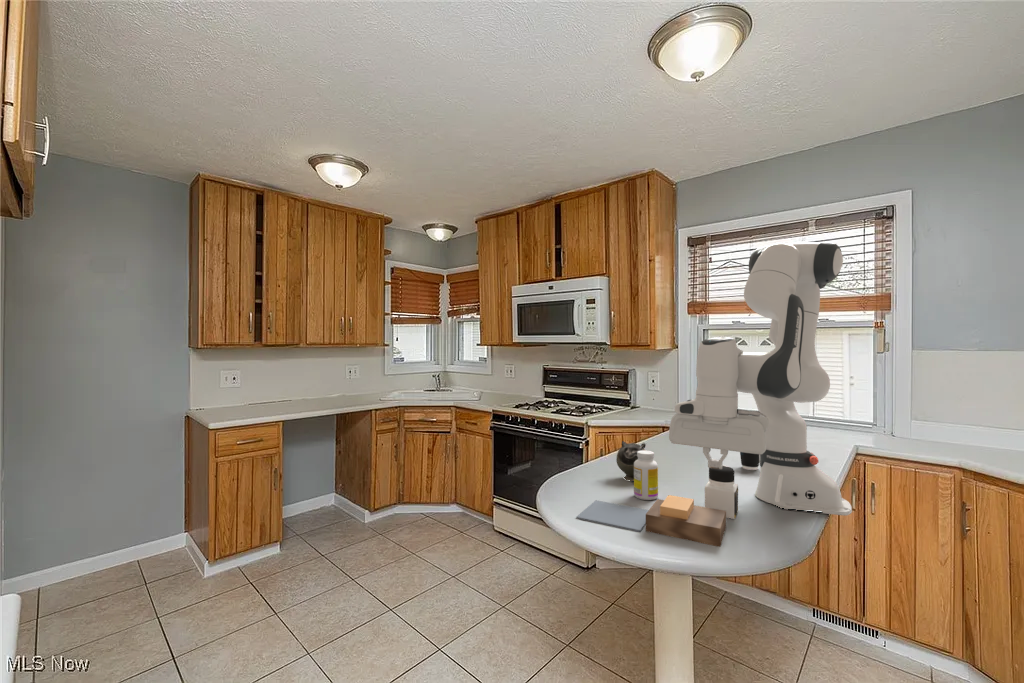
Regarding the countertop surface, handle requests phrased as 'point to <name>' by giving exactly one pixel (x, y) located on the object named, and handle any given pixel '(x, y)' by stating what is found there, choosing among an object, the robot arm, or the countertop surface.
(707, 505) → the medicine bottle
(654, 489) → the supplement bottle
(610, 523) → the mat
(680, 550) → the countertop surface
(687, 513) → the tile
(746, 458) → the dixie cup
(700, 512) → the wooden block
